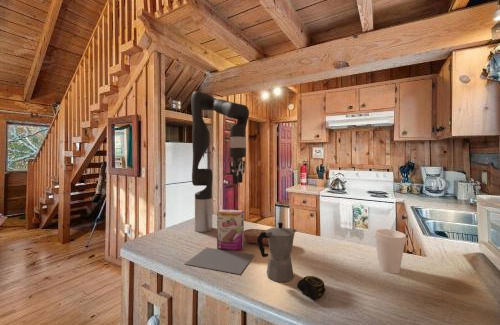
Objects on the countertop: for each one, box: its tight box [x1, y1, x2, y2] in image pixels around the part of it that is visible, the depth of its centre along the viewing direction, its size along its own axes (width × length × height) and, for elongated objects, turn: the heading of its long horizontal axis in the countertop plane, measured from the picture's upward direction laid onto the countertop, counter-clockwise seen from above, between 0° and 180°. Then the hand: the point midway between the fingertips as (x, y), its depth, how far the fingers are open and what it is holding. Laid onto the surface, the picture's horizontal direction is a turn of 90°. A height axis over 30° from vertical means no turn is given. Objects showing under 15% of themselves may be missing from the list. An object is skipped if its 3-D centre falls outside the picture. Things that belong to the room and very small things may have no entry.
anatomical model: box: [244, 228, 269, 246], centre depth 104 cm, size 23×10×5 cm, turn 67°
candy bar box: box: [216, 209, 245, 251], centre depth 99 cm, size 11×5×16 cm, turn 84°
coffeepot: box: [257, 221, 297, 283], centre depth 76 cm, size 15×9×18 cm, turn 116°
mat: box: [184, 246, 255, 276], centre depth 88 cm, size 16×22×1 cm
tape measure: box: [296, 275, 326, 301], centre depth 67 cm, size 7×7×4 cm
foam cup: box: [374, 228, 407, 274], centre depth 81 cm, size 10×9×13 cm
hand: (237, 183), depth 106 cm, fingers open, 5 cm apart
